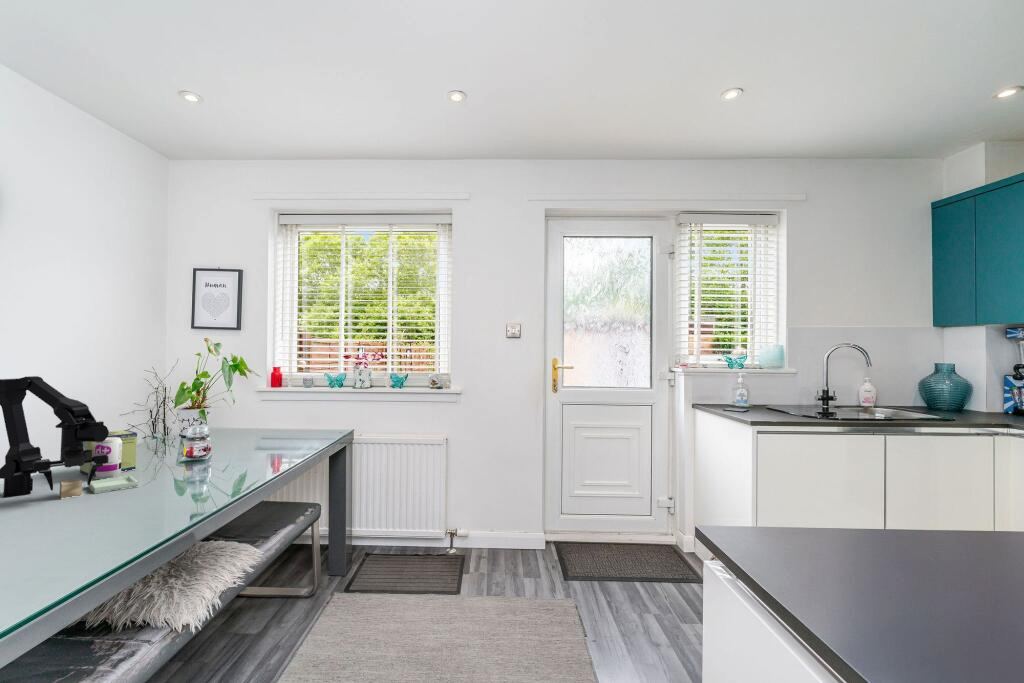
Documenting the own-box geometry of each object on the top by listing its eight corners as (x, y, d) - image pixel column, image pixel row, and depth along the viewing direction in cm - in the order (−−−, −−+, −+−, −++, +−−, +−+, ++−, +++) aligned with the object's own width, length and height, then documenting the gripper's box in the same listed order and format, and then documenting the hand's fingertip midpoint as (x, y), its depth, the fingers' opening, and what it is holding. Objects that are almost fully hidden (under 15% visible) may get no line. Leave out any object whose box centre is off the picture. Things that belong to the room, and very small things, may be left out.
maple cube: (61, 499, 162) (61, 484, 162) (59, 496, 165) (60, 481, 165) (81, 496, 166) (81, 481, 166) (78, 493, 169) (79, 478, 169)
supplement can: (108, 480, 186) (110, 440, 186) (87, 479, 186) (89, 440, 186) (126, 475, 194) (127, 437, 194) (105, 474, 194) (107, 436, 194)
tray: (94, 493, 169) (94, 488, 169) (88, 486, 177) (88, 481, 177) (137, 487, 178) (137, 481, 178) (130, 481, 186) (130, 475, 186)
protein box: (136, 470, 203) (138, 432, 203) (89, 477, 189) (90, 437, 190) (125, 466, 208) (127, 429, 208) (78, 473, 195) (80, 434, 195)
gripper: (36, 448, 154) (34, 498, 153) (112, 441, 168) (110, 487, 167) (33, 443, 161) (31, 491, 161) (106, 436, 175) (104, 481, 175)
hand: (70, 487), depth 166 cm, fingers open, 9 cm apart
